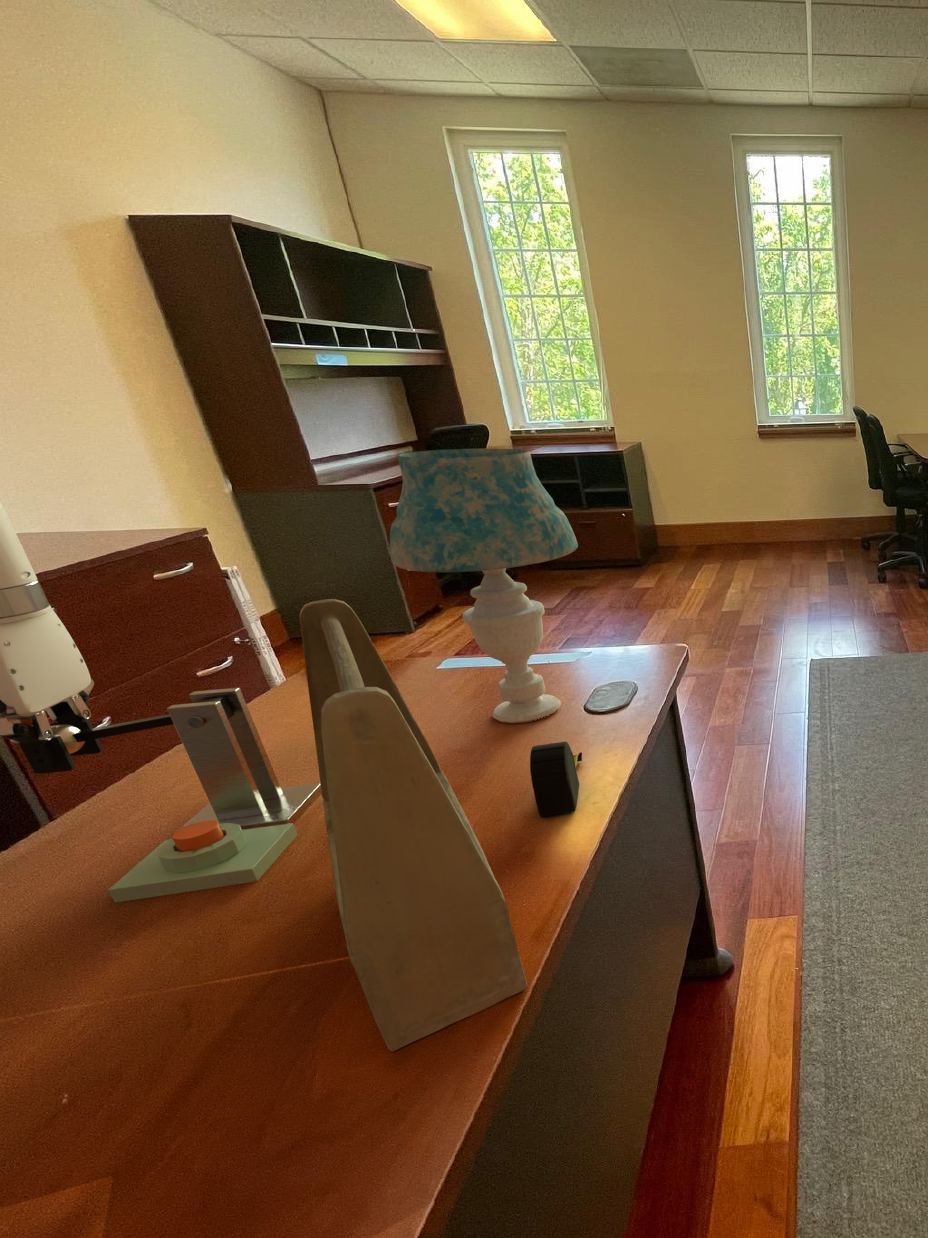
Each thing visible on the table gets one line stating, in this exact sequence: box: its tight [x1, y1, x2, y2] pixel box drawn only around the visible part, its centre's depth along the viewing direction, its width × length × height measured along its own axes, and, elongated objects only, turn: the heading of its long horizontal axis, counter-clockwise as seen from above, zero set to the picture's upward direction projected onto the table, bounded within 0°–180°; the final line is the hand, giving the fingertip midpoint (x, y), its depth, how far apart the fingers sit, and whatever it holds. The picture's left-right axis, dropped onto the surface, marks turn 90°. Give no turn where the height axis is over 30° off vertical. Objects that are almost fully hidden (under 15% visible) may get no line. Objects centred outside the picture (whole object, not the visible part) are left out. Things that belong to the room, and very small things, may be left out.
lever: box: [50, 697, 235, 754], centre depth 80 cm, size 17×3×3 cm, turn 107°
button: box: [171, 820, 224, 852], centre depth 76 cm, size 4×4×2 cm
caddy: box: [299, 598, 528, 1053], centre depth 63 cm, size 29×11×30 cm, turn 41°
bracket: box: [166, 687, 322, 830], centre depth 84 cm, size 11×9×16 cm
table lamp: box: [389, 447, 579, 724], centre depth 108 cm, size 24×24×40 cm
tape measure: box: [529, 741, 583, 818], centre depth 92 cm, size 15×4×8 cm, turn 21°
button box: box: [108, 823, 298, 903], centre depth 77 cm, size 12×9×4 cm
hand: (70, 760), depth 80 cm, fingers closed on lever, 3 cm apart
